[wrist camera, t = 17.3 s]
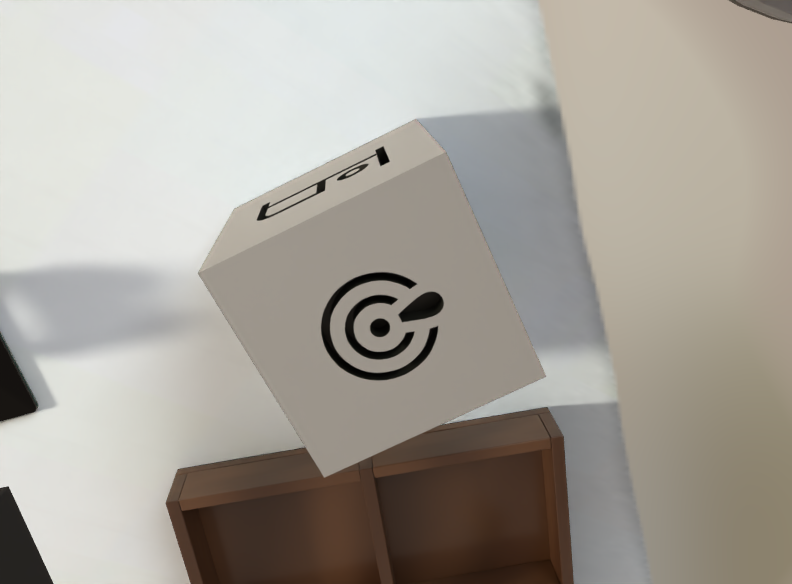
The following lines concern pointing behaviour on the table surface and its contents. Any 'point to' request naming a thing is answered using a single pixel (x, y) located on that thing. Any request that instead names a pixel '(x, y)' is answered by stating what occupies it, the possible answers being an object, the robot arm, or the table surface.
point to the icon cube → (370, 299)
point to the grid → (386, 512)
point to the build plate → (13, 387)
